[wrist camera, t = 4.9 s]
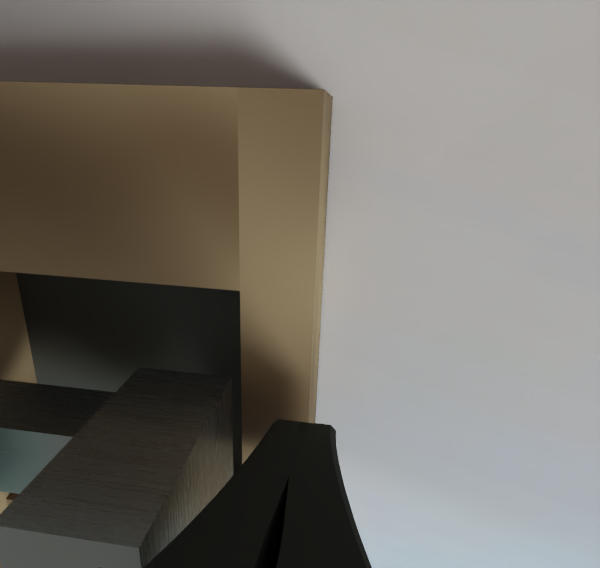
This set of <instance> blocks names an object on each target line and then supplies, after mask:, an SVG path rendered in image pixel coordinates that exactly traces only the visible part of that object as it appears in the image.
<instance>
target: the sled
mask: <svg viewBox="0 0 600 568" xmlns="http://www.w3.org/2000/svg"><path fill="white" fill-rule="evenodd" d="M232 476H233V431H232V383H231V377H228V376H219V375H210V374H200V373H191V372H181V371H172V370H162V369H153V368H144V367H139V368H138V369H137V370H136V371H135V372H134V373H133V374H132V375H131V376H130V377H129V379H128V380H127V381H126V382H125V383H124V384H123V385H122V386H121V387H120V388H119V389H118V390H117V391H116V392H107V391H99V390H90V389H81V388H72V387H63V386H55V385H46V384H37V383H28V382H20V381H11V380H2V379H0V491H2V492H9V493H16V494H19V495H18V496H17V497H16V498H15V499H14V500H13V501H12V502H11V503H10V504H9V506H8V507H7V508H6V509H5V510H4V511H3V512H2V513H1V514H0V564H1V567H2V568H143V567H144V566H145V565H146V564H148V563H149V562H150V561H151V560H152V559H153V558H154V557H155V556H156V555H157V554H159V553H160V552H161V551H162V550H163V549H164V548H165V547H166V546H167V545H168V544H169V543H170V542H171V541H172V540H173V539H174V538H175V537H176V536H177V535H178V534H179V533H180V532H181V531H182V530H183V529H184V528H185V527H186V526H187V525H188V524H189V523H190V522H191V521H192V520H193V519H194V518H195V517H196V516H197V515H198V514H199V513H200V512H201V511H202V510H203V509H204V507H205V506H206V505H207V504H208V503H209V502H210V501H211V500H212V499H213V498H214V497H215V496H216V495H217V494H218V492H219V491H220V490H221V489H222V488H223V487H224V486H225V484H226V483H227V482H228V481H229V480H230V478H231V477H232Z"/></svg>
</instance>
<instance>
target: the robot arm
mask: <svg viewBox="0 0 600 568" xmlns="http://www.w3.org/2000/svg"><path fill="white" fill-rule="evenodd" d="M143 568H372V567H371V565H370V562H369V560H368V557H367V554H366V552H365V549H364V546H363V544H362V541H361V538H360V535H359V532H358V530H357V527H356V524H355V521H354V518H353V514H352V511H351V508H350V504H349V501H348V498H347V494H346V491H345V487H344V483H343V480H342V475H341V471H340V466H339V461H338V456H337V449H336V431H335V429H334V428H333V427H332V426H331V425H325V424H316V423H308V422H299V421H291V420H282V419H278V420H277V421H275V422H274V423H273V424H272V425H271V427H270V428H269V430H268V431H267V433H266V434H265V436H264V437H263V438H262V440H261V441H260V442H259V444H258V445H257V446H256V448H255V449H254V450H253V452H252V453H251V454H250V455H249V457H248V458H247V459H246V461H245V462H244V463H243V464H242V466H241V467H240V468H239V469H238V470H237V471H236V473H235V474H234V475H233V476H232V477H231V478H230V480H229V481H228V482H227V483H226V484H225V486H224V487H223V488H222V489H221V490H220V491H219V492H218V494H217V495H216V496H215V497H214V498H213V499H212V500H211V501H210V502H209V503H208V504H207V505H206V506H205V507H204V509H203V510H202V511H201V512H200V513H199V514H198V515H197V516H196V517H195V518H194V519H193V520H192V521H191V522H190V523H189V524H188V525H187V526H186V527H185V528H184V529H183V530H182V531H181V532H180V533H179V534H178V535H177V536H176V537H175V538H174V539H173V540H172V541H171V542H170V543H169V544H168V545H167V546H166V547H165V548H164V549H163V550H162V551H161V552H160V553H159V554H157V555H156V556H155V557H154V558H153V559H152V560H151V561H150V562H149V563H148V564H146V565H145V566H144V567H143Z"/></svg>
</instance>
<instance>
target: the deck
mask: <svg viewBox="0 0 600 568" xmlns="http://www.w3.org/2000/svg"><path fill="white" fill-rule="evenodd" d="M332 98H333V97H332V96H331V95H330V94H329V93H327V92H326V91H325V90H322V89H284V88H245V87H207V86H169V85H130V84H92V83H53V82H15V81H0V379H2V380H11V381H20V382H28V383H37V384H46V385H55V386H63V387H72V388H81V389H90V390H99V391H107V392H116V391H117V390H118V389H119V388H120V387H121V386H122V385H123V384H124V383H125V382H126V381H127V380H128V379H129V377H130V376H131V375H132V374H133V373H134V372H135V371H136V370H137V369H138V368H139V367H144V368H153V369H162V370H172V371H181V372H191V373H200V374H210V375H219V376H228V377H231V383H232V431H233V475H234V474H235V473H236V471H237V470H238V469H239V468H240V467H241V466H242V464H243V463H244V462H245V461H246V459H247V458H248V457H249V455H250V454H251V453H252V452H253V450H254V449H255V448H256V446H257V445H258V444H259V442H260V441H261V440H262V438H263V437H264V436H265V434H266V433H267V431H268V430H269V428H270V427H271V425H272V424H273V423H274V422H275V421H277V420H278V419H282V420H291V421H299V422H308V423H315V415H316V396H317V378H318V359H319V340H320V322H321V303H322V284H323V266H324V247H325V229H326V210H327V191H328V173H329V154H330V135H331V117H332ZM18 495H19V494H16V493H9V492H2V491H0V514H1V513H2V512H3V511H4V510H5V509H6V508H7V507H8V506H9V504H10V503H11V502H12V501H13V500H14V499H15V498H16V497H17V496H18ZM0 568H2V567H1V564H0Z"/></svg>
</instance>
